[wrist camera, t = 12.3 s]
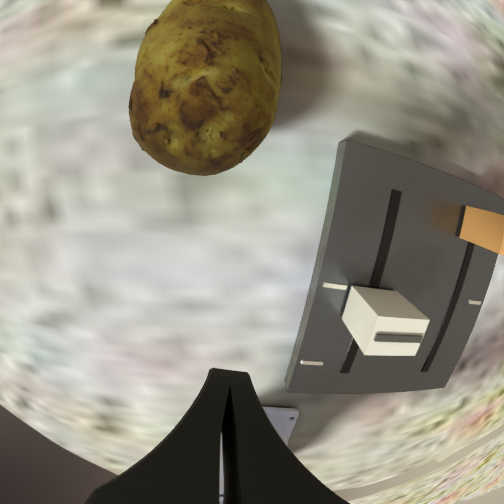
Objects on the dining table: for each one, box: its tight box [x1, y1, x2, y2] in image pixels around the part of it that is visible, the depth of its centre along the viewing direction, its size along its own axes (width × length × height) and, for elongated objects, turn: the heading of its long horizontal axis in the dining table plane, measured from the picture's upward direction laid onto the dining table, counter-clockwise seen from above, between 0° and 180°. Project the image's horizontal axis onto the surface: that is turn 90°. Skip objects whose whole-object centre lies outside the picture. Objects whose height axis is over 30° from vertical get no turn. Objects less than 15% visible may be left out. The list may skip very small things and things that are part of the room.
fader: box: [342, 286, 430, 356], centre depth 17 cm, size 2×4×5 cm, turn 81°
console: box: [285, 141, 504, 394], centre depth 20 cm, size 18×16×2 cm
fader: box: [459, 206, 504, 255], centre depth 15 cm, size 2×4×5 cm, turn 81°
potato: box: [129, 0, 282, 176], centre depth 13 cm, size 8×13×8 cm, turn 156°
